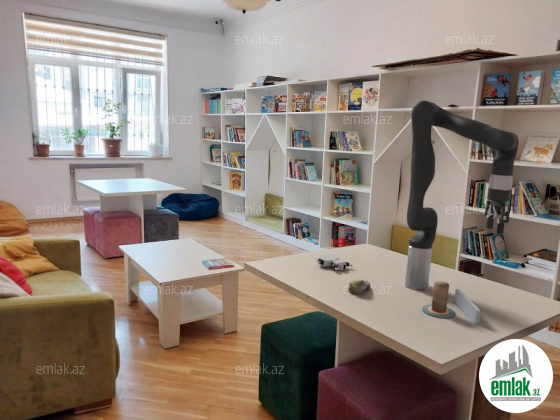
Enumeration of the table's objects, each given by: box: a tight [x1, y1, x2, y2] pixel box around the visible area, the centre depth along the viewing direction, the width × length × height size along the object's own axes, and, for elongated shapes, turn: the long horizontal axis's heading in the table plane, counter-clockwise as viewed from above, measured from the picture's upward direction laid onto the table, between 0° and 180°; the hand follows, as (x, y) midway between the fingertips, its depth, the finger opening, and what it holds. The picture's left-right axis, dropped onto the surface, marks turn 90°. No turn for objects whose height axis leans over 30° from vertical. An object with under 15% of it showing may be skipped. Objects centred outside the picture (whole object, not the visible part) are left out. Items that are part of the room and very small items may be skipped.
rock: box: [347, 279, 371, 296], centre depth 170 cm, size 11×6×10 cm
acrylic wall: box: [453, 288, 481, 325], centre depth 152 cm, size 20×1×5 cm, turn 177°
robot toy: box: [314, 253, 353, 271], centre depth 199 cm, size 12×4×15 cm
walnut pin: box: [431, 280, 450, 313], centre depth 151 cm, size 5×5×10 cm
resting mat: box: [421, 303, 456, 319], centre depth 152 cm, size 11×11×1 cm
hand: (494, 231), depth 157 cm, fingers open, 8 cm apart
